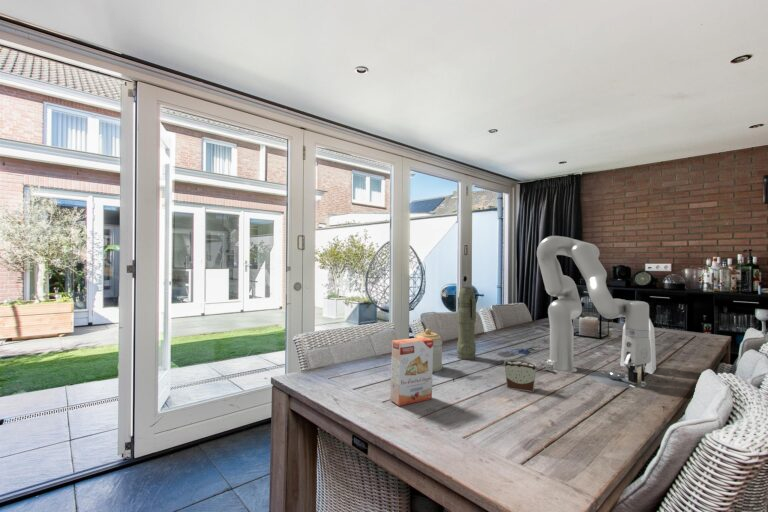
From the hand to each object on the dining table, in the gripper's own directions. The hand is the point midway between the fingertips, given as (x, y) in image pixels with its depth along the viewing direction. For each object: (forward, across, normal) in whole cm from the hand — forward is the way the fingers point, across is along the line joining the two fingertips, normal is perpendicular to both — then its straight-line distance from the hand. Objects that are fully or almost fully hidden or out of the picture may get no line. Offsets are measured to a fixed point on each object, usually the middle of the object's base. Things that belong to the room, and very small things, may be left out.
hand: (636, 380), depth 142 cm
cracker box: (+3, -85, +24) cm, 89 cm away
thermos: (+4, -32, +62) cm, 70 cm away
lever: (+1, 0, +5) cm, 5 cm away
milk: (+3, +29, +16) cm, 34 cm away
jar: (+4, -60, +54) cm, 81 cm away
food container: (+3, -40, +19) cm, 45 cm away
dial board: (+3, 0, +8) cm, 8 cm away
